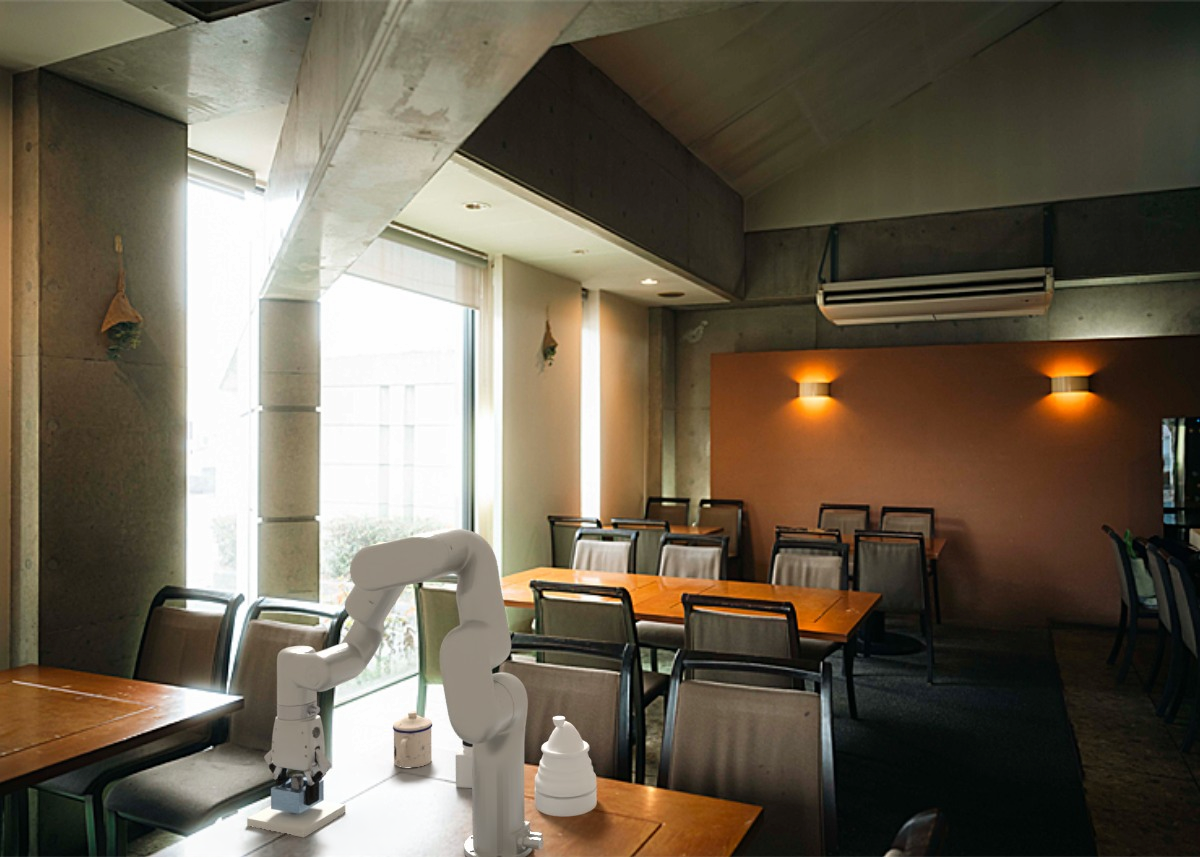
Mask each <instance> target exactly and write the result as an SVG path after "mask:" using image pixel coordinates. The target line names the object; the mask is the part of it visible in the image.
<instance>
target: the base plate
mask: <svg viewBox="0 0 1200 857" xmlns="http://www.w3.org/2000/svg"><path fill="white" fill-rule="evenodd" d="M344 812H345V813H346V804H343V803H336V802H332V801H326V800H323V801H321V802H320V803H318V804H316V805H314V806H313V807H311V808H309V809H307V810H305V811H304V812H302V813H300V814H292V813H290V812H285V811H280V810H275V809H271V805H269V806H268V807H265V808H264V809H262V810H260V811H258V812H256V813H255V814H253V815H250V816H249V817H246V821H247V822H246V826H247V827H250V826H253V827H252V828H255V827H256V829H260V828H262V829H261V830H264V829H266V831H269V830H271V832H274V831H277V832H276V833H279V832H281V833H280V834H284V833H287V834H286V835H289V834H291V835H290V836H295V837H301V838H305V837H307V836H309V835H310V834H312V833H314V832H315V831H317V830H319V829H320V828H322V827H323V826H325V825H327V824H329V823H330V822H333V819H334V820H336V819H337V818H338V816H339V817H340V816H342V815H344V814H345V813H344ZM343 813H344V814H343ZM341 814H342V815H341Z"/></svg>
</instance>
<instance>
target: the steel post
mask: <svg viewBox="0 0 1200 857" xmlns="http://www.w3.org/2000/svg"><path fill="white" fill-rule="evenodd" d="M303 777H304V774H303V773H294V774H292V775H290V778H291V789H296V790H299V789H301V788H303ZM292 814H296V813H292Z"/></svg>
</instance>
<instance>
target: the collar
mask: <svg viewBox="0 0 1200 857" xmlns="http://www.w3.org/2000/svg"><path fill="white" fill-rule="evenodd" d="M324 784H325V783H324V779H322V780H321V781H319V800H318V801H317V802H315V803H313V804H311V805H310V806H308V805H306V785H308V781H307V779H306V776H303V788H301V789H299V790H296V789H291V777H289V780H287V781H285V782H283V783H281V784H279V785H277V786H276V785H274V786H272V787H270V806H271V809H275V810H280V811H285V812H290V813H296V814H300V813H302V812H304V811H305V810H307V809H309V808H311V807H313V806H314V805H316V804H318V803H320V802H321V801H325V800H324V795H325V794H324V791H325V790H324V786H325V785H324Z"/></svg>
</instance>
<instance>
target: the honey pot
mask: <svg viewBox="0 0 1200 857" xmlns="http://www.w3.org/2000/svg"><path fill="white" fill-rule="evenodd" d="M552 722H553V725H554V726H555V728H554V729H553V730H552V732H551V734H550V736H549V738H548V741H546V742H544V743H543V744H542V745H541V748H540V750H541V752H542V753H543V754H542V756H541V759H540V760H539V766H538V768H537V773H535V776H534V807H535V809H537V811H539V812H540V813H543V814H544V815H548V816H553V817H573V816H580V815H584V814H587V813H589V812H591V811H592V810H593V809H595V808H596V806H597V804H598V803H597V802H598V801H597V797H598V796H597V795H598V794H597V791H598V790H597V789H598V788H597V775H596V773H595V772H594V767H593V764H592V759H591V758H590V757H589V751H590V744H589V743H588V742H587V741H585V740H583V739H582V736H581V735H580V732H579V731H578V729H576V727H575V726H574V725H573V724H572V723H571V722H569V721H567V720H566V717H565V716H563V715H556V716H553V717H552Z"/></svg>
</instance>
